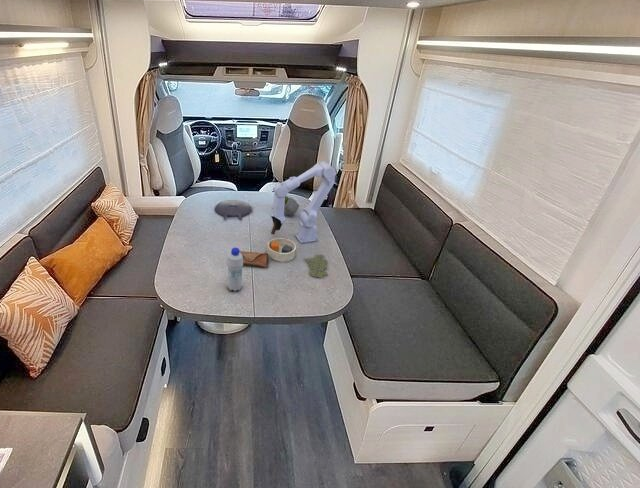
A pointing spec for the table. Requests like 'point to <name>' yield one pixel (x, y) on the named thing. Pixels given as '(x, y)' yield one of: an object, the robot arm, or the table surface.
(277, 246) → the orange block
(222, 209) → the toy spaceship
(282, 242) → the bowl
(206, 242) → the table surface
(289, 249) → the slate block
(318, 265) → the map
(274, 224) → the stick
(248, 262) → the sunglasses case
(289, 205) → the potted plant
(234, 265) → the bottle
